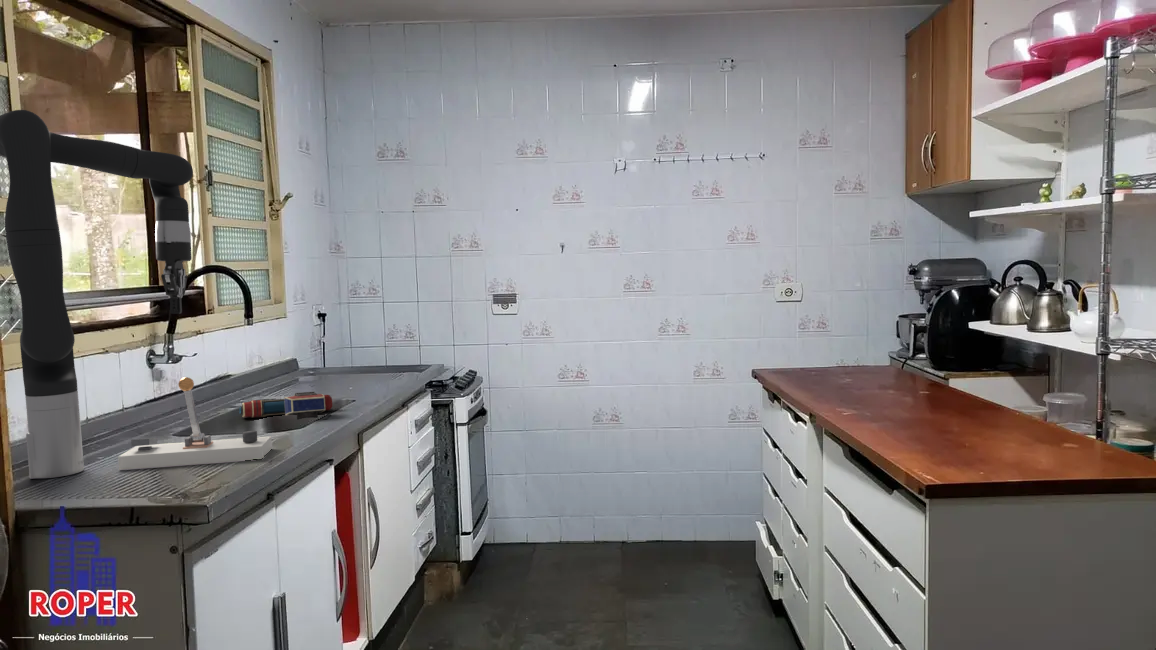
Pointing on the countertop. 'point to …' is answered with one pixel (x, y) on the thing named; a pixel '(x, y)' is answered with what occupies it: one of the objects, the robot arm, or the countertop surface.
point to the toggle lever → (191, 409)
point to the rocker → (144, 442)
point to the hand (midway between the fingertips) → (176, 313)
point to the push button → (249, 436)
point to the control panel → (194, 453)
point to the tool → (289, 406)
